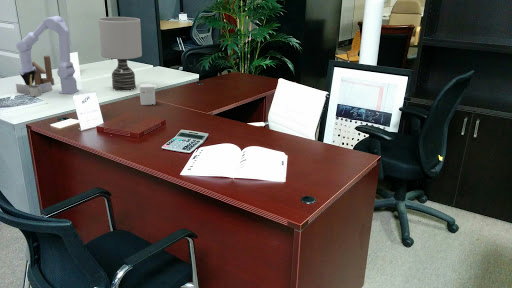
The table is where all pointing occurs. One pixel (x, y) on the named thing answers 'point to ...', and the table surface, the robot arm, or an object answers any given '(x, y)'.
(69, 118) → the table surface
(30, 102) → the table surface
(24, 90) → the steel hinge
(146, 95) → the small box
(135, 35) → the lamp
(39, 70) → the brown wooden frame
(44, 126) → the table surface
